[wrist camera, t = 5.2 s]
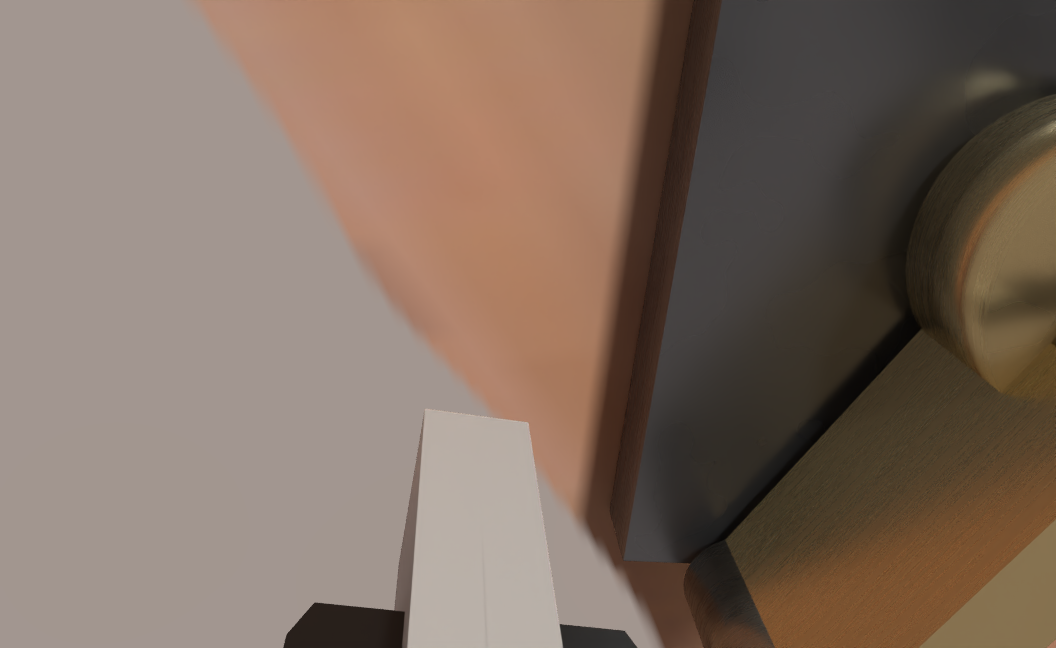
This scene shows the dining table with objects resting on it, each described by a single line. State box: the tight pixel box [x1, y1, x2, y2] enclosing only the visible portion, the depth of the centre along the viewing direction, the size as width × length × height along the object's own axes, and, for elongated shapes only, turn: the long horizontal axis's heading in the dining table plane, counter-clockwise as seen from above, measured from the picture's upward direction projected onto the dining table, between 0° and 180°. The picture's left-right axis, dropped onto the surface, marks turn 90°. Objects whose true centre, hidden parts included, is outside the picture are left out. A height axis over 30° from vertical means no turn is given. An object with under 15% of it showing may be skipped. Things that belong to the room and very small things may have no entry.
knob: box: [684, 94, 1056, 648], centre depth 12 cm, size 11×5×4 cm, turn 144°
